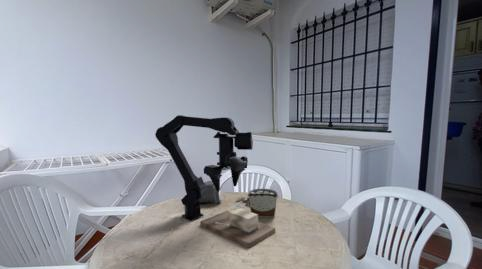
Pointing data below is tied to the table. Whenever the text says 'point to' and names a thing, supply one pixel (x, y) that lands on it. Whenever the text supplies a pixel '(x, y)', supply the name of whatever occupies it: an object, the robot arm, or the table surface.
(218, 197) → the pipe fitting
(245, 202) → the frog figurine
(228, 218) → the oak board
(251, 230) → the block
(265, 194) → the food container
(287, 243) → the table surface
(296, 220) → the table surface
